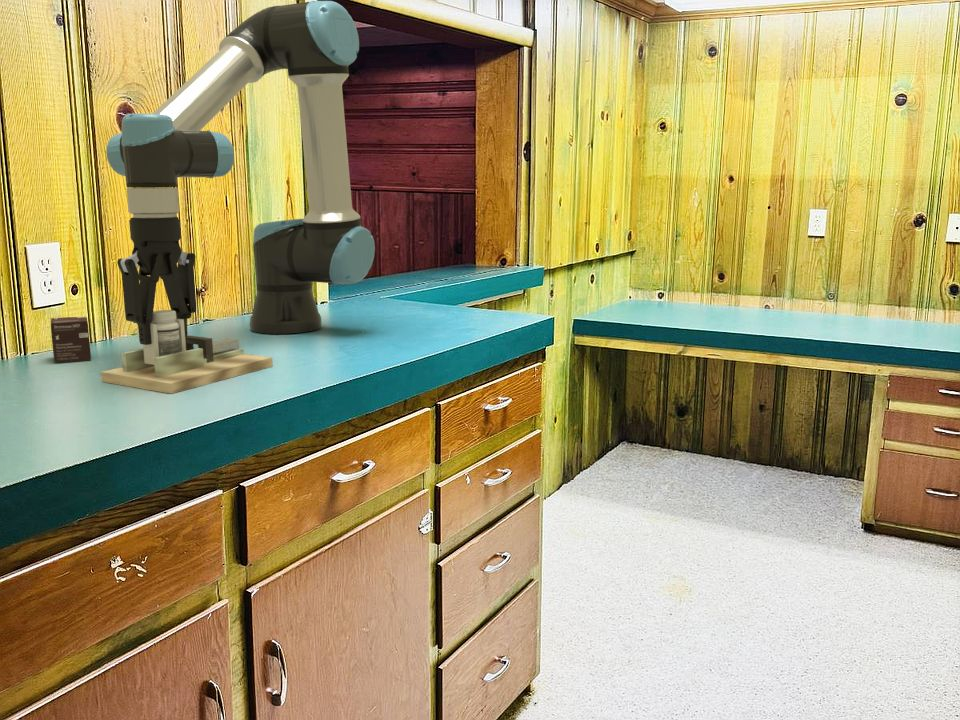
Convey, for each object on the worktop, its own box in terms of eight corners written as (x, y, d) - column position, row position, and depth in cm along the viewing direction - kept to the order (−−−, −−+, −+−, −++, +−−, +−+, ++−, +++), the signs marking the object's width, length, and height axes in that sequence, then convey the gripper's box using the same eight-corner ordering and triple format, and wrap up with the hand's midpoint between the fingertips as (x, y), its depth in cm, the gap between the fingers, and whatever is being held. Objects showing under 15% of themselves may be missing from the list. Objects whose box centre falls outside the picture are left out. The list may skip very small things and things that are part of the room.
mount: (206, 357, 156) (204, 326, 155) (272, 366, 148) (271, 334, 147) (102, 381, 137) (98, 347, 136) (171, 393, 130) (168, 357, 128)
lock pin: (229, 351, 153) (228, 338, 152) (239, 352, 152) (238, 339, 151) (199, 358, 147) (198, 344, 146) (209, 359, 146) (208, 346, 145)
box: (53, 364, 151) (49, 323, 149) (54, 357, 156) (50, 317, 155) (91, 360, 153) (87, 320, 152) (90, 354, 159) (87, 315, 157)
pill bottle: (150, 360, 141) (146, 310, 139) (181, 358, 142) (177, 308, 141) (150, 366, 136) (146, 314, 135) (182, 364, 138) (178, 313, 136)
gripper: (182, 213, 144) (192, 349, 149) (89, 217, 129) (103, 368, 134) (214, 214, 140) (223, 353, 145) (122, 218, 125) (135, 373, 130)
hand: (165, 360), depth 139 cm, fingers closed on pill bottle, 5 cm apart
